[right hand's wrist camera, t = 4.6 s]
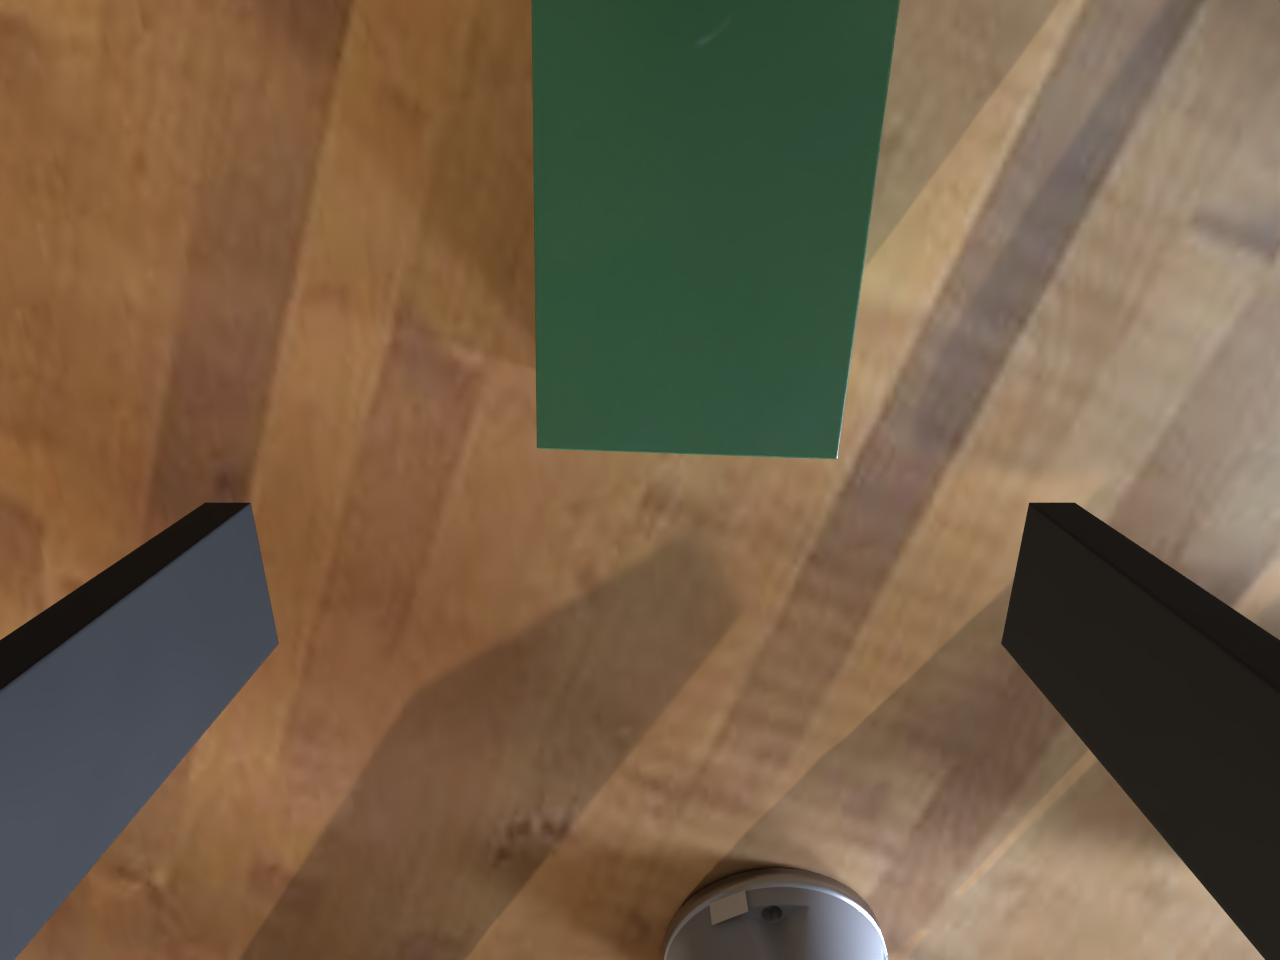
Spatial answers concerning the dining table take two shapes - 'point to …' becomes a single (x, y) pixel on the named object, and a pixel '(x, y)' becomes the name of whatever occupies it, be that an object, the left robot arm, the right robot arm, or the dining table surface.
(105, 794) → the right robot arm
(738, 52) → the cabinet
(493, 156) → the dining table surface
